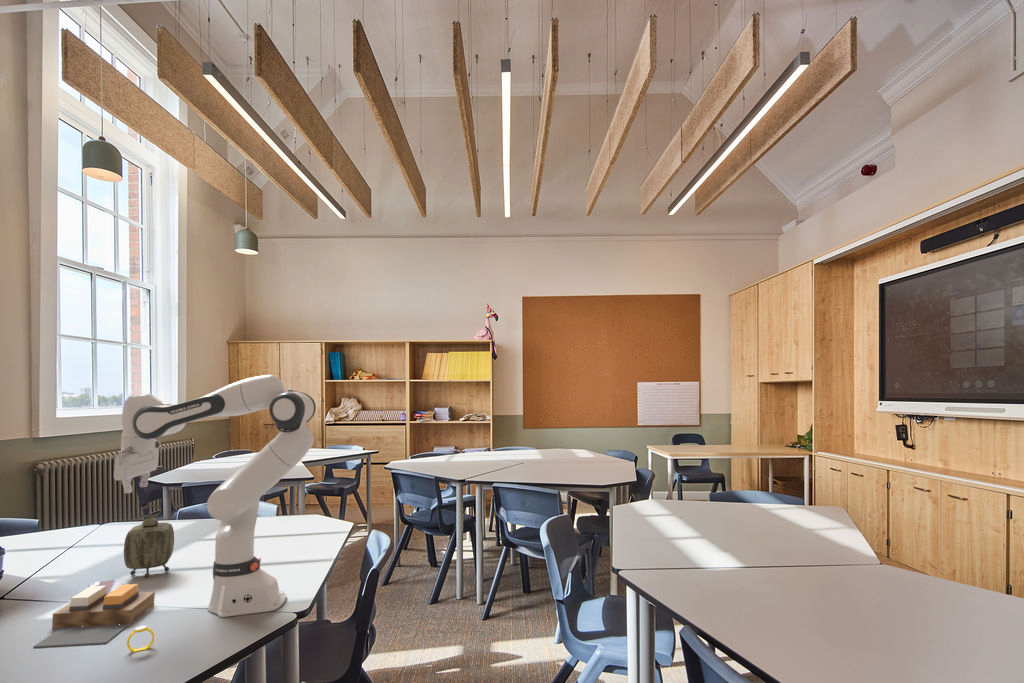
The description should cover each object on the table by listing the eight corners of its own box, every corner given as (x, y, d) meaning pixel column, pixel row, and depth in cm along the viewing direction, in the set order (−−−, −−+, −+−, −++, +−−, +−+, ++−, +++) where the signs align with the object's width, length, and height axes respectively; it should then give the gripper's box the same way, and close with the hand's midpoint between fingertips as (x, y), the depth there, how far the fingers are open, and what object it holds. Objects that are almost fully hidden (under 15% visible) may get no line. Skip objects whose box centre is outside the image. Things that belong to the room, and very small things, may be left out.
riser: (154, 604, 183) (154, 591, 183) (130, 623, 169) (131, 609, 169) (81, 608, 180) (82, 595, 180) (52, 628, 166) (52, 613, 166)
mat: (128, 625, 168) (128, 624, 168) (106, 643, 156) (106, 642, 156) (61, 629, 165) (61, 627, 165) (33, 647, 154) (33, 646, 154)
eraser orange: (138, 595, 180) (138, 583, 180) (121, 608, 170) (121, 595, 170) (121, 596, 179) (121, 584, 179) (102, 609, 169) (103, 596, 170)
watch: (127, 656, 150) (126, 633, 150) (127, 652, 152) (126, 629, 152) (154, 648, 153) (153, 625, 153) (154, 644, 156) (153, 622, 156)
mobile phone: (80, 597, 187) (89, 582, 201) (80, 600, 187) (89, 585, 201) (109, 593, 191) (115, 578, 204) (109, 596, 191) (115, 581, 204)
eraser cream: (107, 597, 179) (107, 585, 179) (87, 610, 169) (88, 597, 169) (89, 597, 178) (90, 585, 178) (69, 611, 168) (69, 598, 168)
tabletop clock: (173, 569, 216) (175, 501, 217) (168, 577, 207) (170, 506, 209) (128, 574, 211) (130, 504, 212) (121, 582, 202) (123, 510, 203)
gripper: (131, 449, 174) (129, 496, 173) (163, 441, 194) (161, 483, 193) (108, 450, 173) (106, 497, 172) (142, 442, 193) (141, 484, 192)
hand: (136, 489), depth 183 cm, fingers open, 8 cm apart
